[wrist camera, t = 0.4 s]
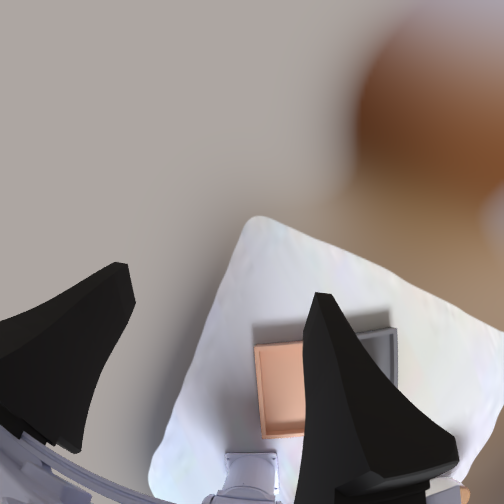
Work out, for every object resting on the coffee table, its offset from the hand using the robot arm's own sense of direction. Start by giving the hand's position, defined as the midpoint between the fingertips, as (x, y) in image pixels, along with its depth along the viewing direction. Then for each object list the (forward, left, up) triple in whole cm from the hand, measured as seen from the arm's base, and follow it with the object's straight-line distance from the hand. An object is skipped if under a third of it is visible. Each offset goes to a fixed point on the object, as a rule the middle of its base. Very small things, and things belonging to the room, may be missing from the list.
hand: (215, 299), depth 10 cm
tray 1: (-13, -3, -28) cm, 31 cm away
